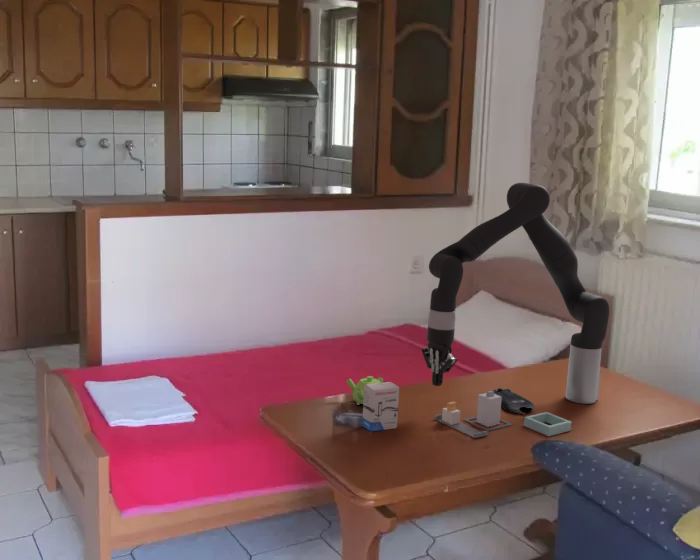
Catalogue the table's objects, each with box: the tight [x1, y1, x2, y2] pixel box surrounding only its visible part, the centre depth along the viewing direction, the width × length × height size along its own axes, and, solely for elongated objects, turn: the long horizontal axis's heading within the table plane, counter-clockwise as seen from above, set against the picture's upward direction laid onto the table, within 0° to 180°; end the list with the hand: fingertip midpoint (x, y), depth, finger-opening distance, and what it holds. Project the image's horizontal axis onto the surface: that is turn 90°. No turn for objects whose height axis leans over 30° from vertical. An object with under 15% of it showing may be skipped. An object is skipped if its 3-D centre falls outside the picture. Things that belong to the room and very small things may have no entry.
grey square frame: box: [463, 415, 513, 432], centre depth 227 cm, size 10×10×1 cm
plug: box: [476, 390, 502, 428], centre depth 226 cm, size 4×4×9 cm
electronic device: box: [491, 387, 535, 416], centre depth 242 cm, size 9×6×15 cm
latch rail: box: [434, 413, 489, 439], centre depth 222 cm, size 4×17×1 cm, turn 35°
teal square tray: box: [523, 411, 573, 437], centre depth 224 cm, size 9×9×2 cm
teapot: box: [346, 375, 384, 404], centre depth 236 cm, size 11×12×8 cm
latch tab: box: [441, 401, 461, 425], centre depth 225 cm, size 3×4×6 cm
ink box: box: [361, 381, 400, 433], centre depth 218 cm, size 9×5×12 cm, turn 117°
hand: (436, 385), depth 229 cm, fingers closed
